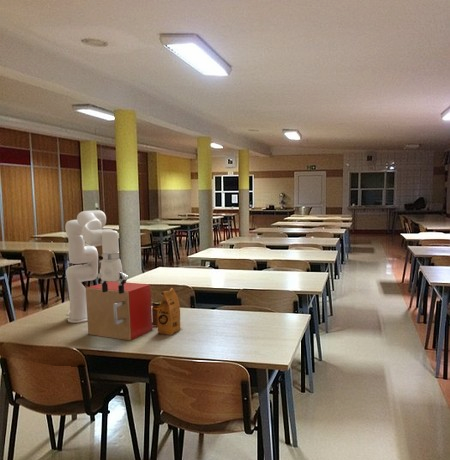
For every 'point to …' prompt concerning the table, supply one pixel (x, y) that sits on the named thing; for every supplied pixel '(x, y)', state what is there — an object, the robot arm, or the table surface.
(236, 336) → the table surface
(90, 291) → the door
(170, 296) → the coffee package
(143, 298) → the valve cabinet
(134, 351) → the table surface
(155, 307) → the condiment
